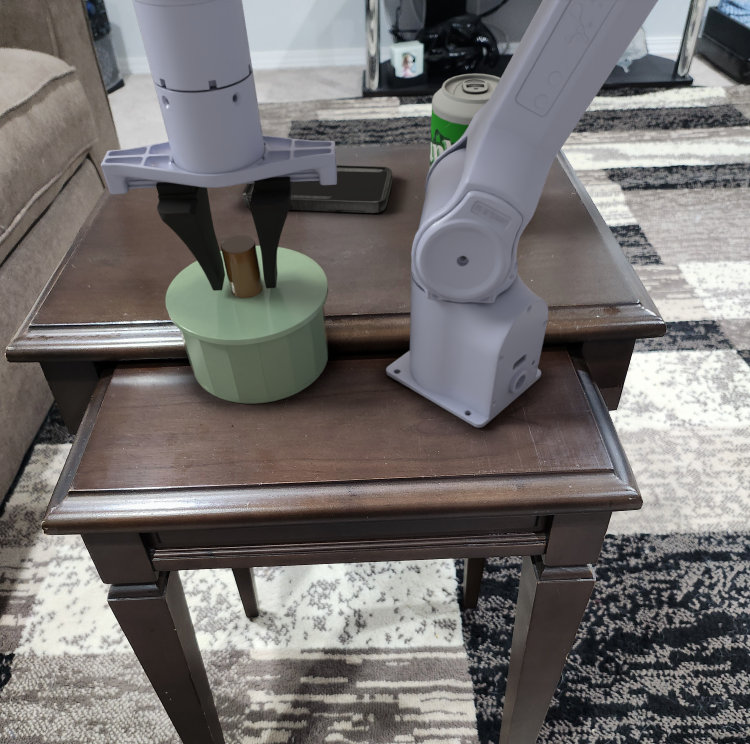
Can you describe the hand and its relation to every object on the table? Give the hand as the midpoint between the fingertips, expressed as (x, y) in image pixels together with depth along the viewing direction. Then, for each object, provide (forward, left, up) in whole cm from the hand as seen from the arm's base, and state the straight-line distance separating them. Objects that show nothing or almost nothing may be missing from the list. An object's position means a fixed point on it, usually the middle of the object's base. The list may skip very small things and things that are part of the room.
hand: (245, 281), depth 49 cm
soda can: (+1, -28, -7) cm, 29 cm away
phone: (+16, -22, -7) cm, 28 cm away
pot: (0, 0, -7) cm, 7 cm away
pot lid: (0, 0, -1) cm, 1 cm away
